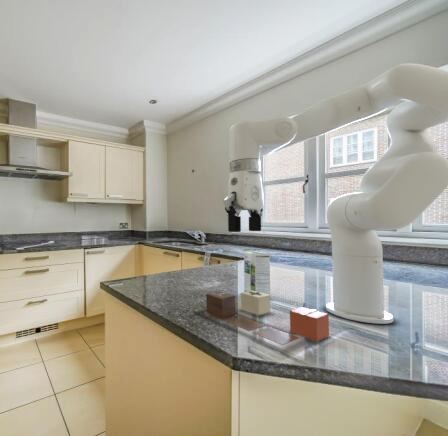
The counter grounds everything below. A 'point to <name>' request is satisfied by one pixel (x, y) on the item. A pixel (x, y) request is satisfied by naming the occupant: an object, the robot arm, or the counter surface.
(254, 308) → the cross-marked cream cube
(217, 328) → the counter surface
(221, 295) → the dark wood block
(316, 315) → the orange block
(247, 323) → the word board
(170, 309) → the counter surface
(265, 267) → the syrup box
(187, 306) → the counter surface
